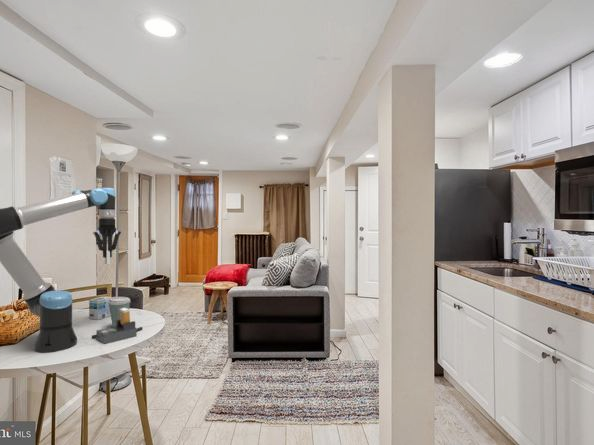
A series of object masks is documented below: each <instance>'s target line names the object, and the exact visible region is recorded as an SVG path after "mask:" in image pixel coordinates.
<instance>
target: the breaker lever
mask: <svg viewBox="0 0 594 445" xmlns="http://www.w3.org/2000/svg"><path fill="white" fill-rule="evenodd" d="M119 310H120V322H121V324H122V326H123V323H127V322H131V318H130V317H131V315H130V311H131V310H130V308H129V309H127V308H122V309H119Z"/></svg>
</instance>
